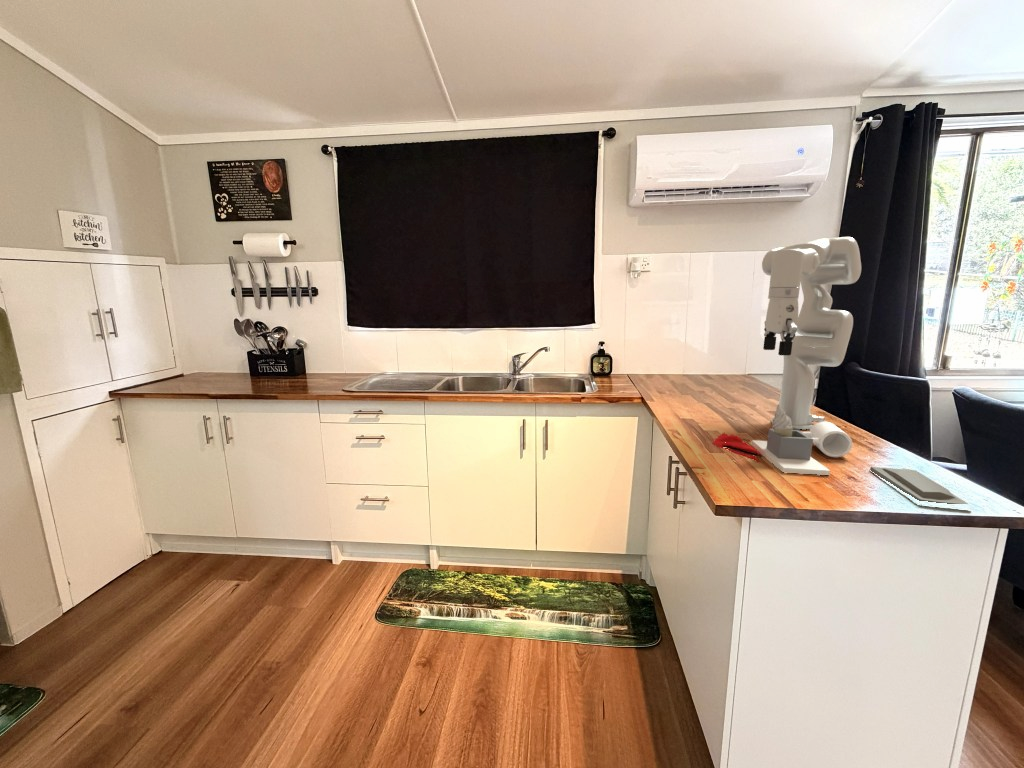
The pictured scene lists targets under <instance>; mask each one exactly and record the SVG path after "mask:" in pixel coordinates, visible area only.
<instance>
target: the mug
mask: <svg viewBox="0 0 1024 768" xmlns="http://www.w3.org/2000/svg"><path fill="white" fill-rule="evenodd" d="M808 430H809V431H802V432H803V433H804V434H806V435H807V436H809V437H811V438H812V439H813V444H812V445H814V446H815V447H816V448H817V449H819V451H820V452H822V453H823V454H824V455H825V456H827V457H831V458H841V457H844V456H846V455H848V454H849V453H850V451H851V450H852V448H853V440H852V438H851V436H850V435H849V434H847V433H846V432H845V431H843V430H842V429H841V428H839V427H838V426H836V424H834V423H832V422H829V421H824V422H817V423H814V424H813V426H812V427H811V429H808Z"/></svg>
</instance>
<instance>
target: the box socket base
mask: <svg viewBox="0 0 1024 768" xmlns="http://www.w3.org/2000/svg"><path fill="white" fill-rule="evenodd" d="M803 432H804V431H802V430H800V429H793V430H792V437H784V436H782V435H781V434H777V433H776V432H775V431H774V429H773V428H768V434H767V440H758V439H757V440H754V439H752V440H751V442H750V443H751V444H750V446H752V447H754V448H755V449H757V452H758V453H759V454H760V455H761V456H763V457H764V456H765V457H766V458H765V457H764V458H765V459H767V460H768V461H769V462H770V463H771V464H772V463H773V464H774V465H773V464H772V465H773V466H774V467H776V468H777V469H778V468H779V469H780V470H781V471H782V472H787V473H801V474H800V475H803V474H817V475H816V476H820V475H829V476H830V475H831V470H830V469H829V468H827V467H826V466H825V465H823V464H821V463H820V461H819V462H818V461H817V460H816V459H815V458H813V457H812V456H811V455H812V450H813V445H814V444H813V439H812V438H811V437H809V436H807V435H806V434H804V433H803ZM779 469H778V470H779ZM780 470H779V471H780ZM781 471H780V472H781ZM782 472H781V473H782ZM787 473H786V474H787Z"/></svg>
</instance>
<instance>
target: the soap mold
mask: <svg viewBox="0 0 1024 768" xmlns="http://www.w3.org/2000/svg"><path fill="white" fill-rule="evenodd" d="M870 470H871V471H872V472H874V473H875V474H877V475H878V476H880V477H881V478H883V479H885V480H886V481H888V482H890V483H891V484H893V485H894V486H896V487H897V488H899V489H900V490H902V491H903V492H905V493H907V494H909V495H911V496H912V497H914V498H915V499H917V500H919V501H928V502H936V503H947V504H969V503H967V502H966V501H965V500H963V499H961V498H960V497H958V496H957V495H955V494H953V493H952V492H951V491H950V490H949V489H947V488H946V487H944V486H942V485H941V484H939V483H937V482H936V481H935V480H932V479H931V478H929V477H927V476H926V475H925V474H922V473H920V471H918V470H914V469H910V468H909V469H908V468H893V467H891V468H890V467H881V466H879V467H877V466H870V468H869V471H870Z"/></svg>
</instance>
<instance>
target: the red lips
mask: <svg viewBox="0 0 1024 768" xmlns="http://www.w3.org/2000/svg"><path fill="white" fill-rule="evenodd" d="M717 437H718V438H717ZM717 437H716V438H715V439H714V440H713V441H712V442H713V443H711V444H712V445H714V446H716V445H717V446H716V447H718V448H720V449H723V447H730V448H731V449H728V448H725V449H728V450H729V451H728V450H727V451H728V452H730V451H731V453H733V454H737V455H738V456H741V455H742V456H741V457H745V458H746V457H747V459H749V458H750V459H749V460H752V459H754V460H753V461H755V460H756V461H755V462H758V461H759V459H758V455H759V456H760V457H761V458H762V456H763V455H762V454H761V453H760V452H759V451H758V450H756V449H755V448H754V447H753V446H752V445H751V444H750V445H749V444H748V443H747V442H744V440H742V438H741V437H739V436H738V435H735V434H733V433H732V434H727V433H726V432H723V433H722V434H720V435H718V436H717ZM725 442H726V443H725ZM735 448H736V450H735ZM725 449H724V450H725ZM743 452H744V453H743ZM751 453H752V454H751ZM749 454H751V455H749ZM753 455H755V456H753ZM756 455H757V456H756Z"/></svg>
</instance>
